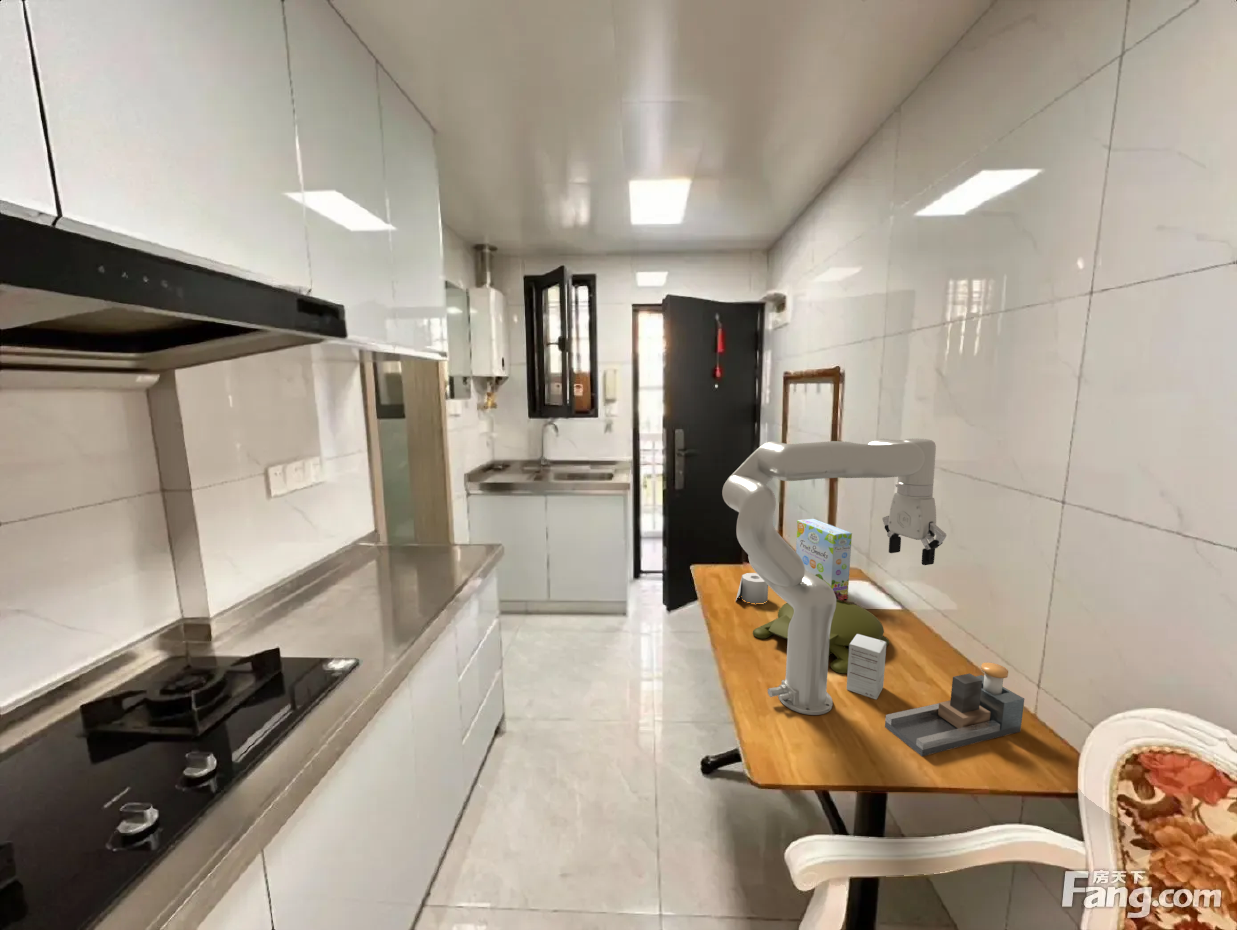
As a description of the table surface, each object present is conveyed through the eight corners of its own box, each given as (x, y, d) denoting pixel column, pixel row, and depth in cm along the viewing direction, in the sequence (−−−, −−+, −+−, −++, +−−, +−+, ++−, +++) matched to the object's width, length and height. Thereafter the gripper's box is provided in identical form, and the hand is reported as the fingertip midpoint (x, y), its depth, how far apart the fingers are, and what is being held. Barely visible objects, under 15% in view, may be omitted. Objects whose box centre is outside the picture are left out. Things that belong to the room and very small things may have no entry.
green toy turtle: (844, 678, 139) (846, 644, 137) (748, 636, 162) (750, 606, 161) (900, 639, 161) (903, 609, 159) (809, 607, 184) (810, 581, 183)
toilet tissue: (730, 602, 187) (731, 579, 186) (750, 593, 196) (751, 571, 195) (751, 610, 181) (752, 586, 180) (772, 600, 190) (773, 577, 189)
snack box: (792, 582, 207) (795, 519, 204) (810, 580, 210) (814, 517, 206) (829, 603, 187) (833, 533, 183) (849, 600, 189) (854, 532, 186)
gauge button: (993, 708, 117) (997, 675, 116) (972, 696, 121) (976, 664, 120) (1010, 705, 118) (1013, 672, 117) (988, 692, 123) (992, 661, 122)
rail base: (921, 756, 109) (925, 721, 107) (884, 727, 118) (887, 694, 117) (1020, 731, 117) (1024, 698, 115) (978, 706, 126) (981, 675, 125)
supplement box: (853, 677, 139) (856, 632, 137) (884, 687, 134) (887, 641, 132) (845, 689, 133) (848, 643, 131) (876, 700, 128) (880, 652, 126)
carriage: (961, 731, 114) (966, 688, 113) (937, 714, 120) (941, 674, 118) (989, 724, 116) (993, 682, 115) (964, 708, 122) (968, 669, 121)
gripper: (874, 485, 133) (871, 550, 135) (934, 498, 116) (929, 571, 119) (897, 483, 135) (893, 546, 137) (959, 495, 119) (954, 567, 121)
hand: (910, 558), depth 128 cm, fingers open, 9 cm apart
